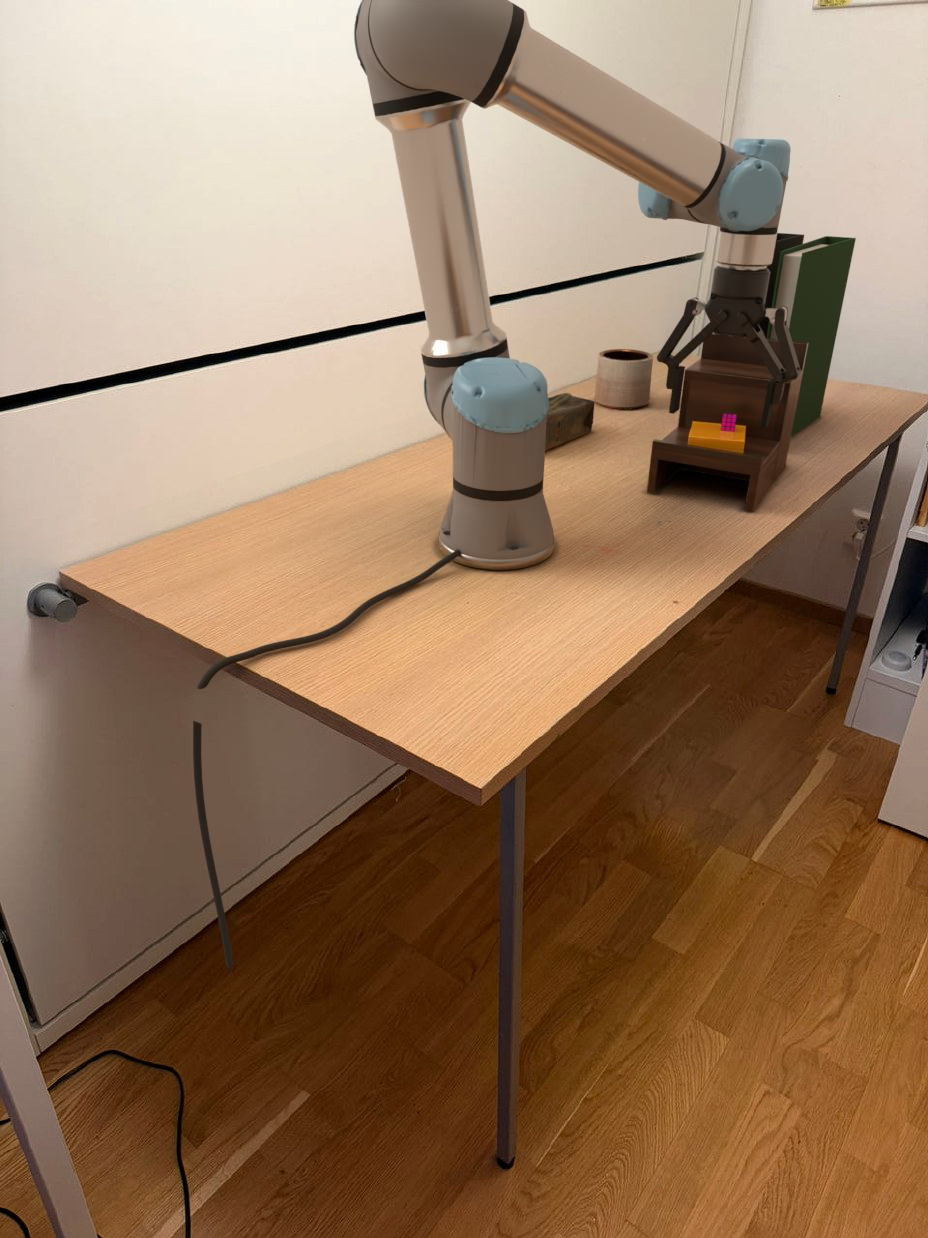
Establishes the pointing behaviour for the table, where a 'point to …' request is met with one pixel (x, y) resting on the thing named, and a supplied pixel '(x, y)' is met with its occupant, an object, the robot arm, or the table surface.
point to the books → (809, 307)
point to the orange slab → (719, 434)
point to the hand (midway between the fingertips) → (718, 418)
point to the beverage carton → (567, 419)
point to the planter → (623, 378)
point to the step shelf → (739, 388)
